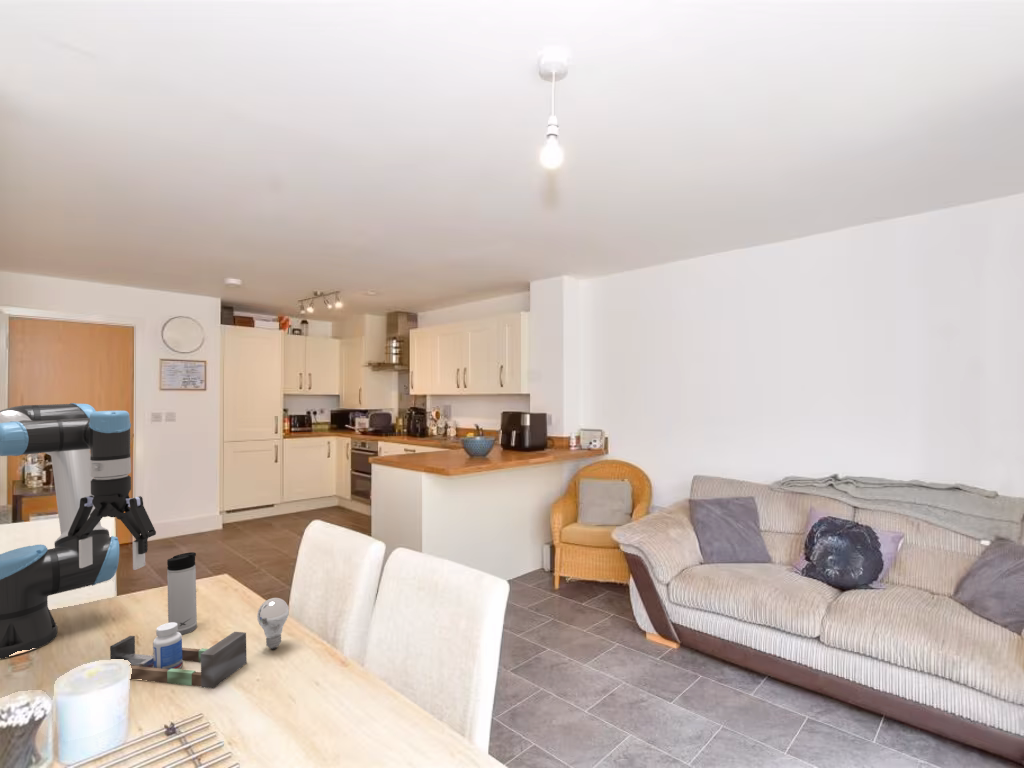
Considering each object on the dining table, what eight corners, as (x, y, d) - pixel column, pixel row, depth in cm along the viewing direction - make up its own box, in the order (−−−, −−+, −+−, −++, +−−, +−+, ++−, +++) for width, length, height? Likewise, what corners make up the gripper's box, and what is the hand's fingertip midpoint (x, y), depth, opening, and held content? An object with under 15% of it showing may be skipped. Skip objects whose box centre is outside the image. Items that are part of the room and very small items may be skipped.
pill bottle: (188, 663, 119) (187, 620, 119) (170, 676, 114) (169, 632, 114) (166, 662, 120) (165, 620, 120) (147, 675, 114) (146, 631, 114)
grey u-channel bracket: (108, 669, 116) (108, 647, 116) (132, 655, 122) (132, 634, 122) (143, 673, 114) (142, 650, 114) (166, 658, 120) (165, 637, 120)
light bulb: (280, 638, 130) (280, 590, 130) (295, 646, 126) (293, 597, 126) (252, 649, 125) (251, 600, 125) (266, 659, 120) (265, 607, 120)
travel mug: (188, 635, 132) (186, 557, 132) (162, 636, 133) (161, 558, 133) (203, 624, 139) (201, 549, 139) (179, 624, 139) (177, 550, 139)
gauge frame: (121, 679, 113) (121, 647, 113) (160, 655, 123) (160, 625, 123) (213, 688, 109) (213, 655, 109) (246, 663, 119) (246, 632, 119)
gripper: (46, 479, 119) (48, 571, 119) (147, 480, 116) (149, 574, 117) (77, 473, 126) (78, 559, 127) (172, 474, 124) (173, 562, 124)
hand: (112, 566), depth 122 cm, fingers open, 13 cm apart
